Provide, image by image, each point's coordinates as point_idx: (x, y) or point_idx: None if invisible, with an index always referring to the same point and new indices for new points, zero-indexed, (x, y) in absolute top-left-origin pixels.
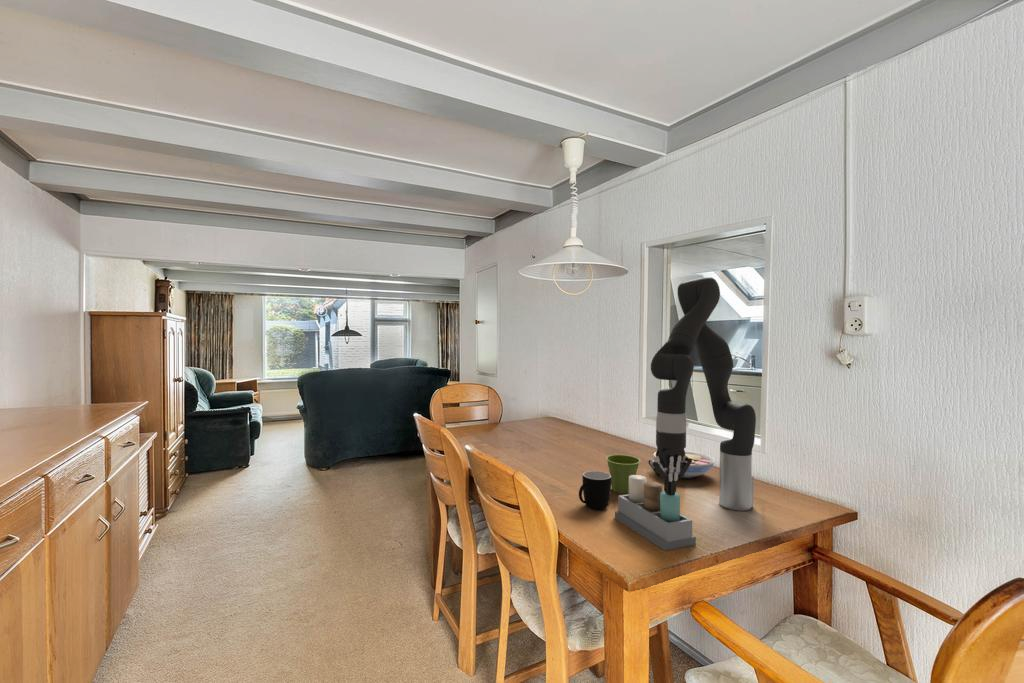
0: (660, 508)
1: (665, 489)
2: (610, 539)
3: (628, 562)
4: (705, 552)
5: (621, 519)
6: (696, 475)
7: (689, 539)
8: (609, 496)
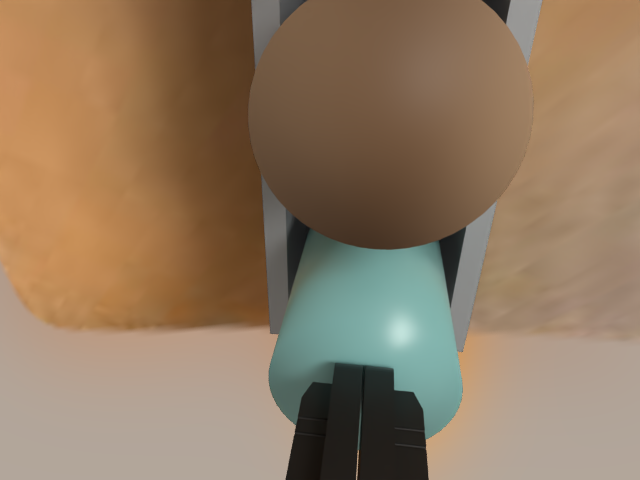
0: (299, 266)
1: (307, 415)
2: (61, 38)
3: (70, 258)
4: None
5: None
6: None
7: None
8: None
